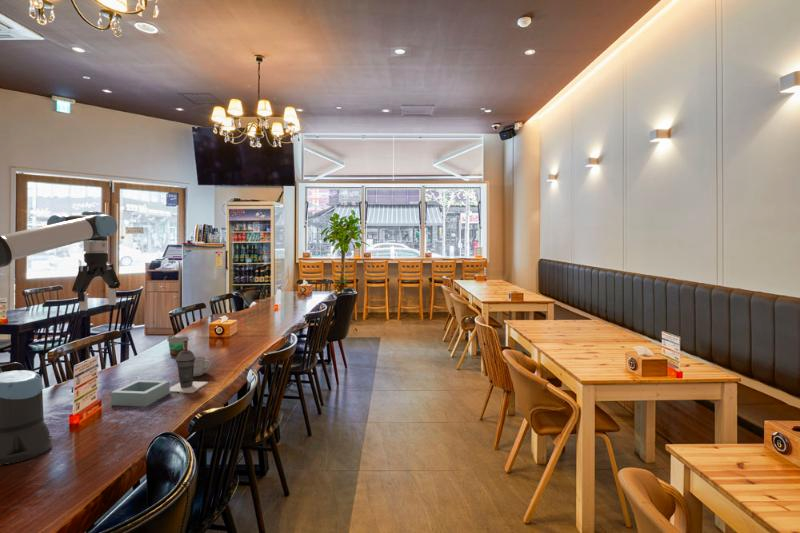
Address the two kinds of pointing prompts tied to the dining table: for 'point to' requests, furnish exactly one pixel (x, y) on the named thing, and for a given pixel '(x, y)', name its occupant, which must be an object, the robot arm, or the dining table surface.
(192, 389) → the grey mat
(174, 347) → the food container
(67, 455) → the dining table surface
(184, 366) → the beverage cup
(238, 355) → the dining table surface
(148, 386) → the grey square tray
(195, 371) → the teacup
